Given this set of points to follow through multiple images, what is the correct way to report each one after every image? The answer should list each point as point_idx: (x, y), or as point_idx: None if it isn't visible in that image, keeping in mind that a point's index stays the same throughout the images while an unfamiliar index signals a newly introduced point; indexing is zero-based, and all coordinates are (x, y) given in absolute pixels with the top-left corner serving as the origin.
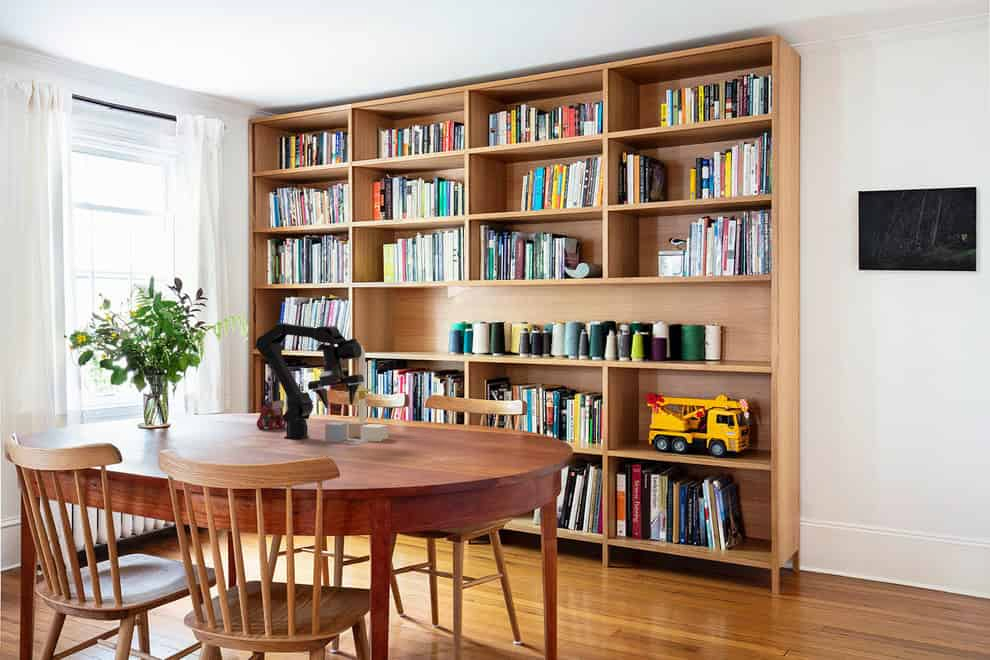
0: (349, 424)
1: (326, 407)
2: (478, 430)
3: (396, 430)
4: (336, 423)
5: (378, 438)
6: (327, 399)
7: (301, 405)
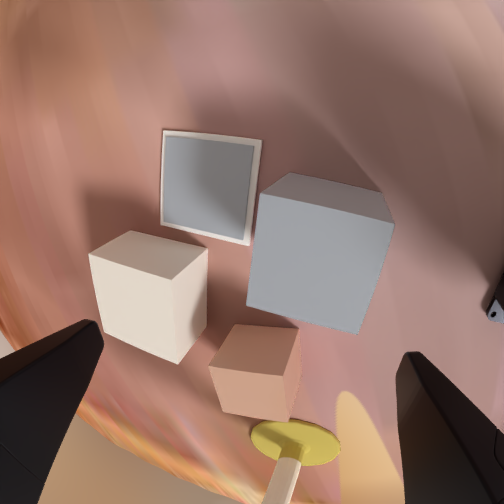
0: (277, 372)
1: (411, 355)
2: None
3: (197, 433)
4: (314, 274)
5: (122, 234)
6: (405, 480)
7: None
